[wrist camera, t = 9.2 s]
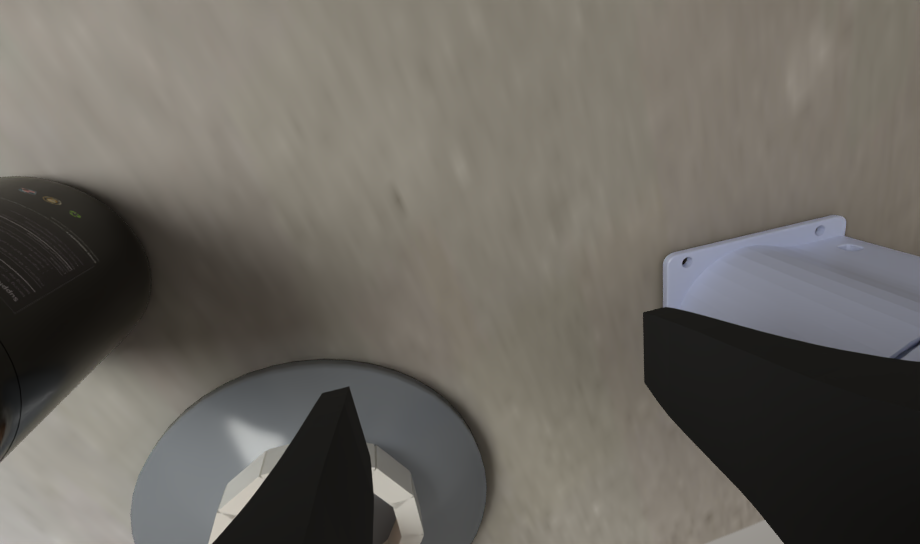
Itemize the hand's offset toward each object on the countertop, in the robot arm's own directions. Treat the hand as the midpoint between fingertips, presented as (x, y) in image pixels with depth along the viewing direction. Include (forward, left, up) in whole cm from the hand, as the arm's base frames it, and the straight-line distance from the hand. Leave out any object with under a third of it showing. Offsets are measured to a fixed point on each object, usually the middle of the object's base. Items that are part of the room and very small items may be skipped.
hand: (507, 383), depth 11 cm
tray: (+8, +11, -9) cm, 17 cm away
